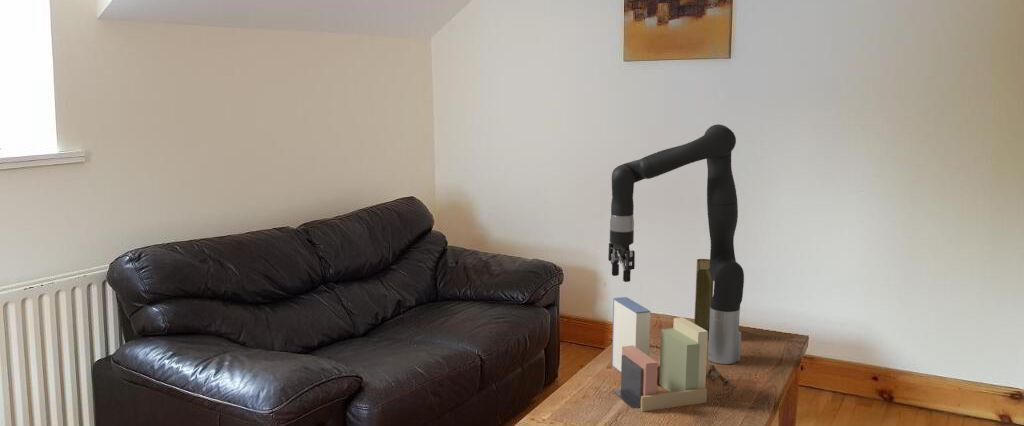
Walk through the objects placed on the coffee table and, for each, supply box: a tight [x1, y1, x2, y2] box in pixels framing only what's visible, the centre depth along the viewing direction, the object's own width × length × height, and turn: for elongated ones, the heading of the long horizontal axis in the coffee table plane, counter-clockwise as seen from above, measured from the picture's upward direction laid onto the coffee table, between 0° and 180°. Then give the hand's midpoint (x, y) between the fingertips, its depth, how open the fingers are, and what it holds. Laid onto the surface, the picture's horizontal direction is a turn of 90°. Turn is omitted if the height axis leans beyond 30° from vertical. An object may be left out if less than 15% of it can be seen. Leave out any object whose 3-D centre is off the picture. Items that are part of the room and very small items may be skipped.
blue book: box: [611, 296, 651, 374], centre depth 261 cm, size 5×16×22 cm, turn 18°
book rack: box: [622, 316, 708, 412], centre depth 243 cm, size 21×16×20 cm
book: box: [693, 258, 714, 340], centre depth 300 cm, size 16×6×25 cm, turn 168°
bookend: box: [612, 355, 643, 409], centre depth 242 cm, size 3×12×11 cm, turn 18°
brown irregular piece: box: [706, 363, 731, 386], centre depth 257 cm, size 2×8×4 cm, turn 33°
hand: (620, 278), depth 274 cm, fingers open, 8 cm apart
